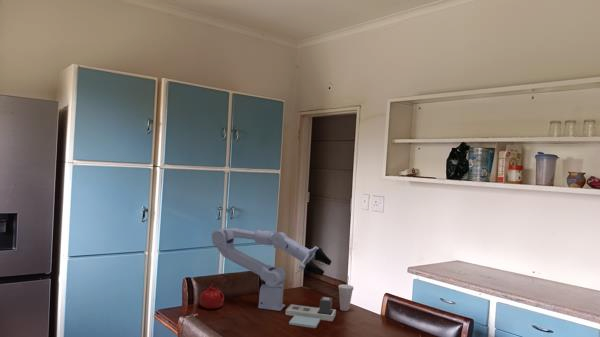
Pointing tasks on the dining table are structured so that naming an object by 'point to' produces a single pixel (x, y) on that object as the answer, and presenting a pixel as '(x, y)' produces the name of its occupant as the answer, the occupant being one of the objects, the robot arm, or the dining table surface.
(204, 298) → the pomegranate
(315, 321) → the tile
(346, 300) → the smoothie
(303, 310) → the power strip
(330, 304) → the block
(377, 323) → the dining table surface
